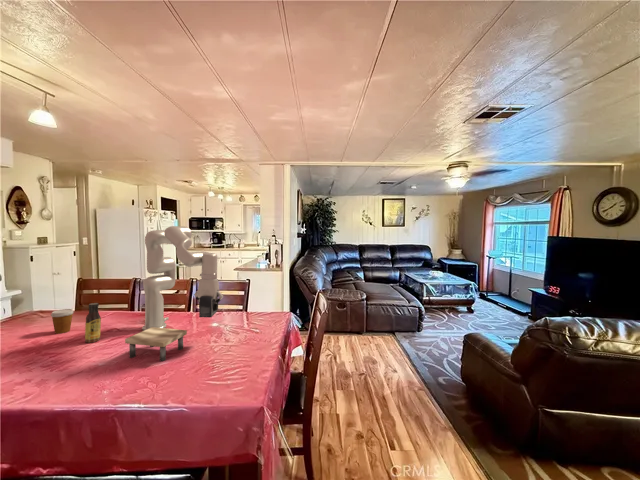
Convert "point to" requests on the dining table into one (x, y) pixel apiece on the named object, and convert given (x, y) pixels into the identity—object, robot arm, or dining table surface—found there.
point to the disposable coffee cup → (62, 320)
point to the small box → (206, 306)
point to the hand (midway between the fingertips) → (208, 309)
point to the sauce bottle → (93, 324)
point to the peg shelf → (156, 340)
